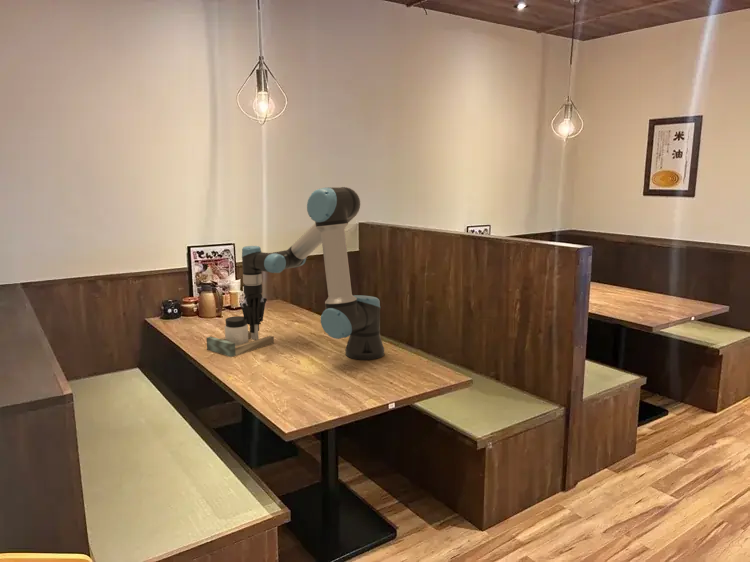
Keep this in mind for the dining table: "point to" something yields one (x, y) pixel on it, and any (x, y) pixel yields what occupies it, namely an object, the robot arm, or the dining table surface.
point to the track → (232, 350)
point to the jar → (236, 330)
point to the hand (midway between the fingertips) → (254, 339)
